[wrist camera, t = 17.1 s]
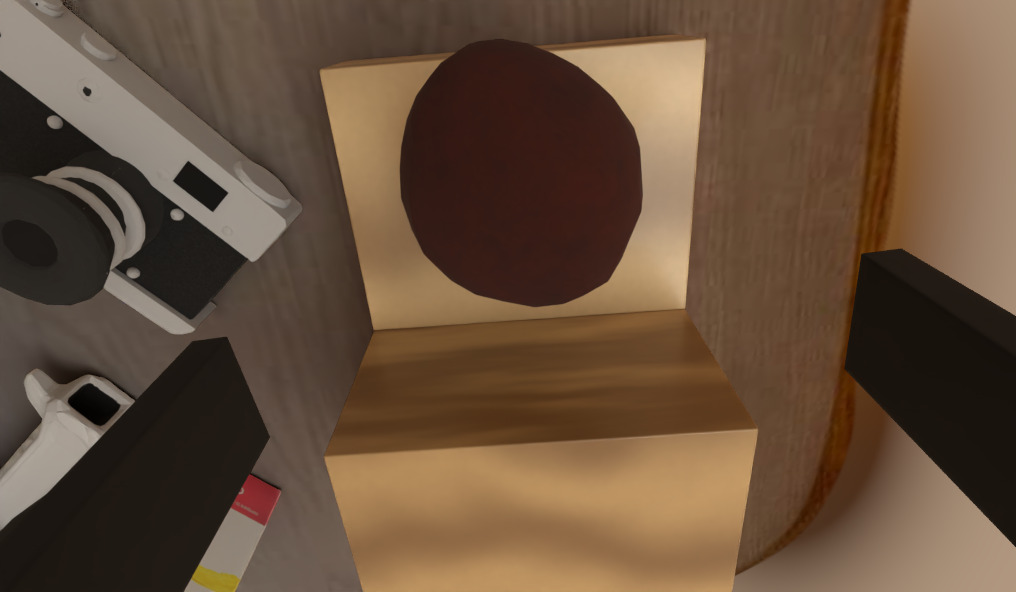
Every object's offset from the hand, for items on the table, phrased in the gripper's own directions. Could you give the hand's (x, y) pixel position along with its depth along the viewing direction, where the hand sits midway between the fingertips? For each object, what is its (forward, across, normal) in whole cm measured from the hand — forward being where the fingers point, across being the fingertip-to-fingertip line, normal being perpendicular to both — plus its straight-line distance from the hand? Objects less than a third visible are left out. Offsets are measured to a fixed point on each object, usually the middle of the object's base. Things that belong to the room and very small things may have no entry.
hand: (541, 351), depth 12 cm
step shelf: (+16, 0, -5) cm, 17 cm away
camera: (+16, -18, +4) cm, 24 cm away
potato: (+11, +1, +3) cm, 12 cm away
